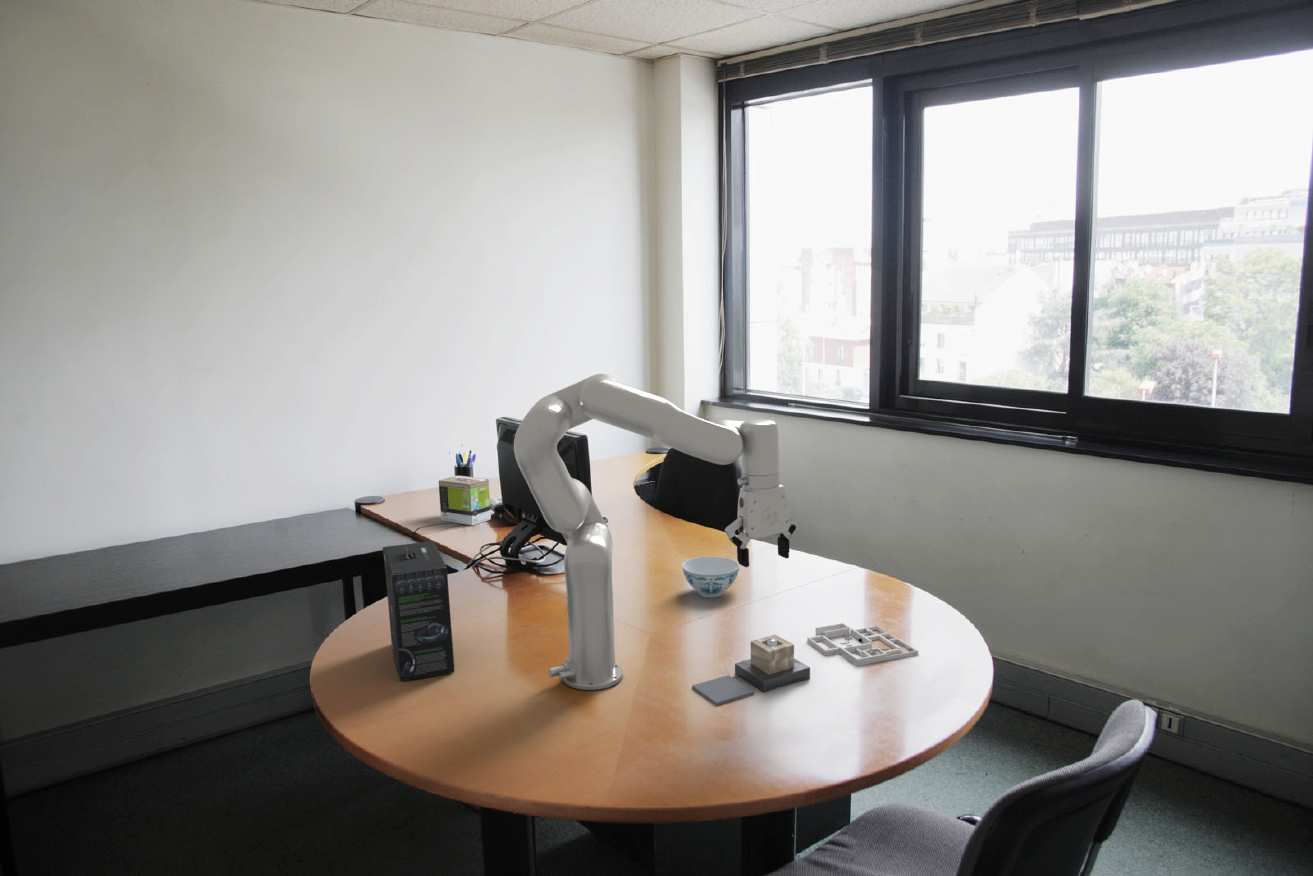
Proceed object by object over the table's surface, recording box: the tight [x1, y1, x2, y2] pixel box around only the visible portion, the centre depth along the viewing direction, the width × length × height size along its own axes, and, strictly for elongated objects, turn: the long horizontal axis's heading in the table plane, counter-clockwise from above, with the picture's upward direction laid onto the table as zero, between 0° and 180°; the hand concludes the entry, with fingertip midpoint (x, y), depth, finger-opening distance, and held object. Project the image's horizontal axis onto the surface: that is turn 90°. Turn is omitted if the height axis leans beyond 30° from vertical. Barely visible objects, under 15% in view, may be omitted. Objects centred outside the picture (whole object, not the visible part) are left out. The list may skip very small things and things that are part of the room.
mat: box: [691, 674, 755, 706], centre depth 185 cm, size 9×9×1 cm
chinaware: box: [681, 555, 740, 598], centre depth 241 cm, size 15×15×8 cm
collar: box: [750, 634, 795, 675], centre depth 191 cm, size 6×6×5 cm
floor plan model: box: [806, 622, 919, 667], centre depth 205 cm, size 19×25×2 cm
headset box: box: [382, 540, 455, 682], centre depth 202 cm, size 22×12×26 cm, turn 21°
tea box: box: [438, 475, 492, 526], centre depth 317 cm, size 15×10×15 cm, turn 58°
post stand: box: [734, 638, 811, 694], centre depth 191 cm, size 12×10×8 cm
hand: (763, 561), depth 189 cm, fingers open, 9 cm apart
